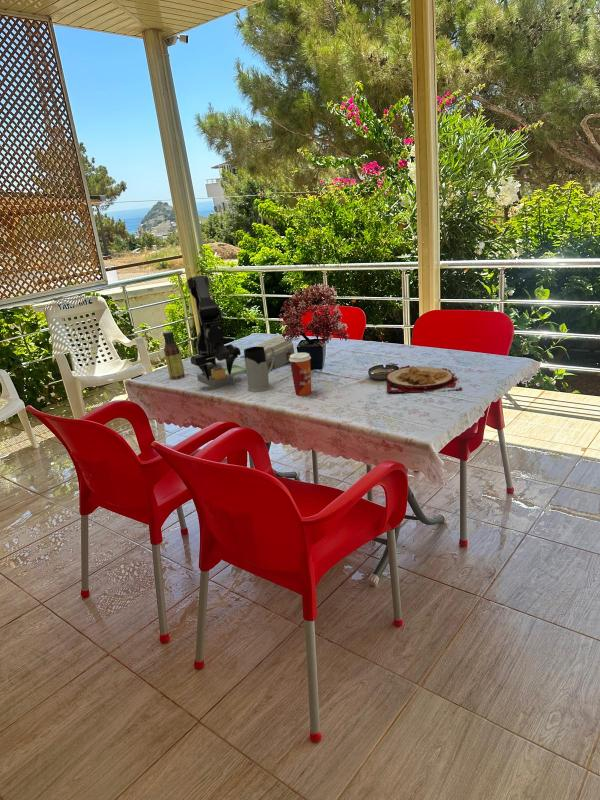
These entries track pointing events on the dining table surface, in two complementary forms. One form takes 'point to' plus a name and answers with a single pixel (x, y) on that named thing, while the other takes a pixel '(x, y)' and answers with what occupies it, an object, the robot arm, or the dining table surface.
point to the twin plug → (209, 367)
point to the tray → (235, 370)
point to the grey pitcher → (257, 368)
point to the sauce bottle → (173, 357)
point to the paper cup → (301, 373)
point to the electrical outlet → (277, 351)
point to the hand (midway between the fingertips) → (219, 377)
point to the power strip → (213, 383)
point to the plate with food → (420, 379)
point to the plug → (218, 373)
